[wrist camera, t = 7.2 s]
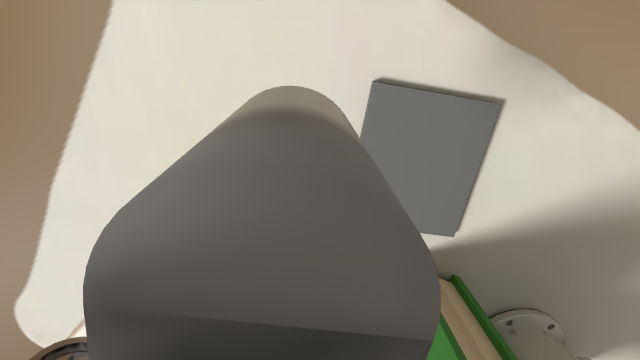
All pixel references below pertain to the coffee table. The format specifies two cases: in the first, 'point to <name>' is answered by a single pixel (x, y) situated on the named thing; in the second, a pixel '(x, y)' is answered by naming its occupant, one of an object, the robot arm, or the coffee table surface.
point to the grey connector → (265, 250)
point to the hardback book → (465, 328)
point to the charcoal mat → (428, 150)
